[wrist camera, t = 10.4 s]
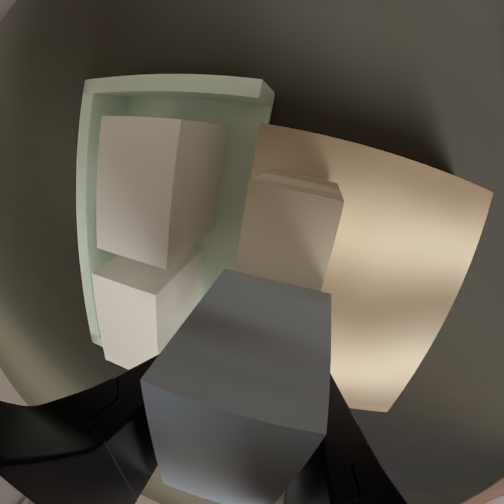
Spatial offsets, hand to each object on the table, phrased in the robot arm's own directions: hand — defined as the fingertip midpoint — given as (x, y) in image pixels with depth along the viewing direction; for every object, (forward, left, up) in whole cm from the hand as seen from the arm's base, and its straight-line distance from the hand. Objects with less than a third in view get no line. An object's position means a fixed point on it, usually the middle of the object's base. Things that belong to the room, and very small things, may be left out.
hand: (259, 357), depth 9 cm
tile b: (+4, +4, -5) cm, 7 cm away
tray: (0, +7, -8) cm, 11 cm away
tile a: (-3, +5, -5) cm, 8 cm away
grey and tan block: (0, 0, -4) cm, 4 cm away
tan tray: (0, -3, -8) cm, 9 cm away
